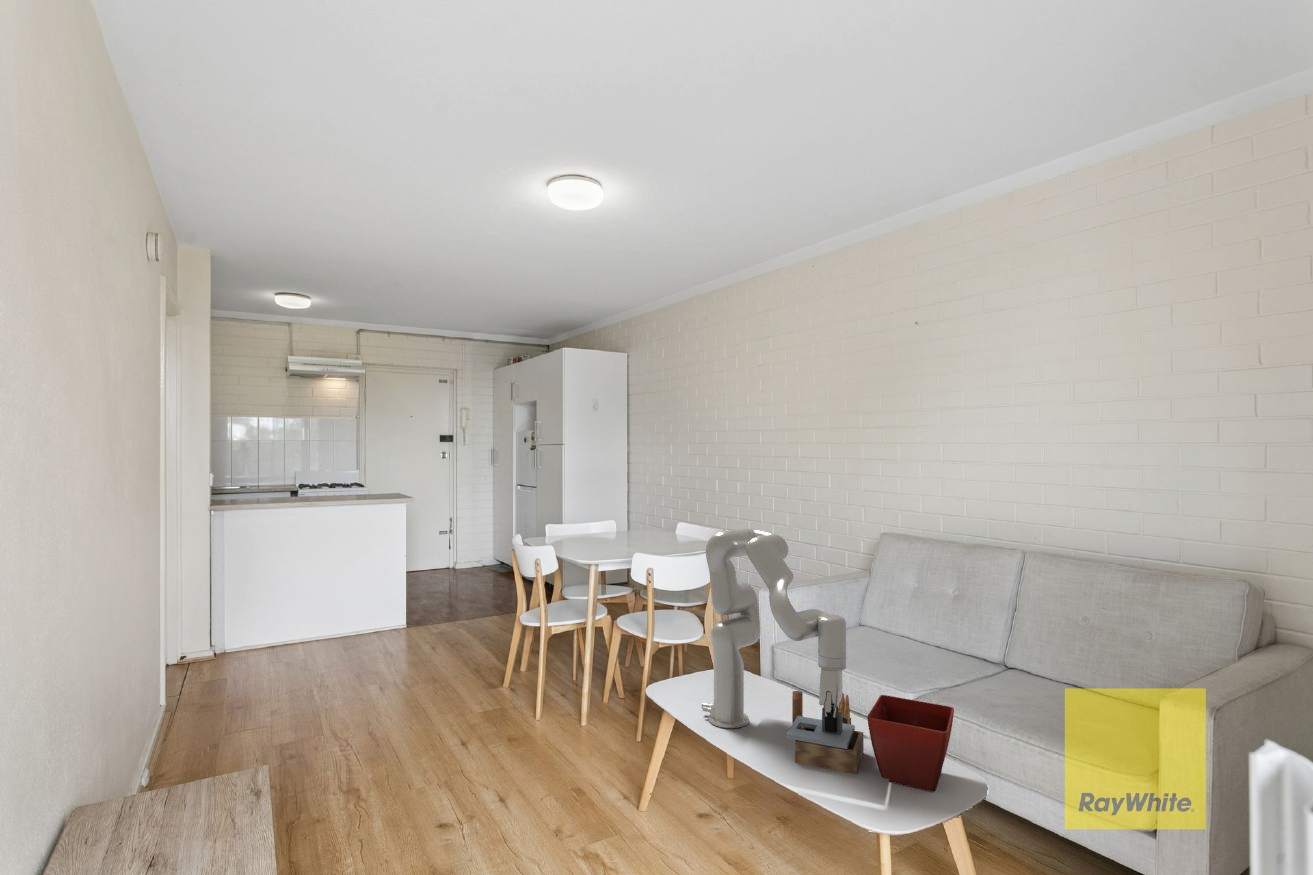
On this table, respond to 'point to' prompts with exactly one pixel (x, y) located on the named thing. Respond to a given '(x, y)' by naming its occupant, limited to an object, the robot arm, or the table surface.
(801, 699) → the brown rounded cylinder
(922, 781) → the plant pot
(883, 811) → the table surface
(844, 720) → the ammunition clip
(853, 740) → the brown hollow box
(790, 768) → the table surface
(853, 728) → the toolbox lid
